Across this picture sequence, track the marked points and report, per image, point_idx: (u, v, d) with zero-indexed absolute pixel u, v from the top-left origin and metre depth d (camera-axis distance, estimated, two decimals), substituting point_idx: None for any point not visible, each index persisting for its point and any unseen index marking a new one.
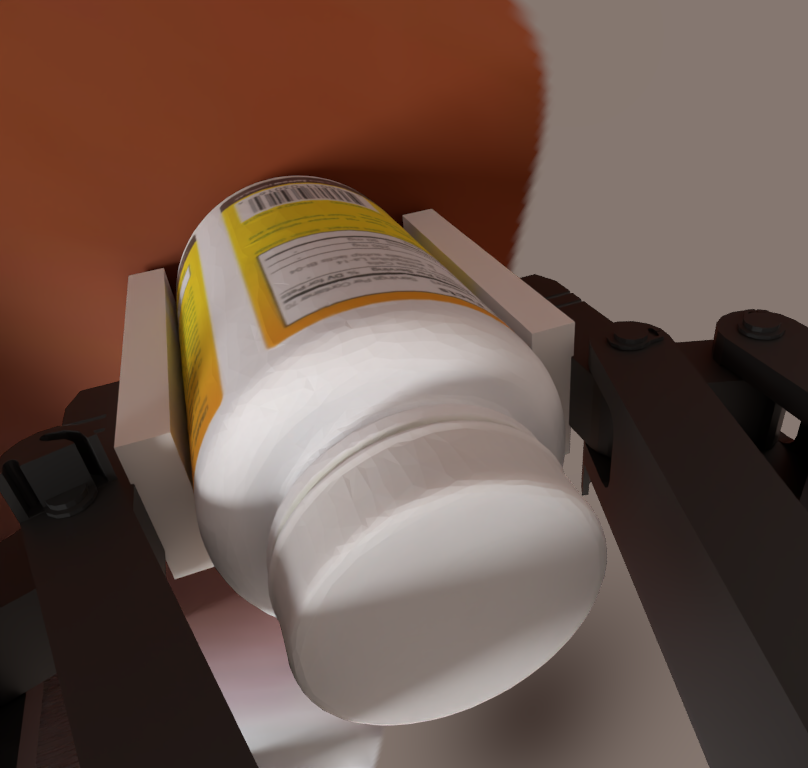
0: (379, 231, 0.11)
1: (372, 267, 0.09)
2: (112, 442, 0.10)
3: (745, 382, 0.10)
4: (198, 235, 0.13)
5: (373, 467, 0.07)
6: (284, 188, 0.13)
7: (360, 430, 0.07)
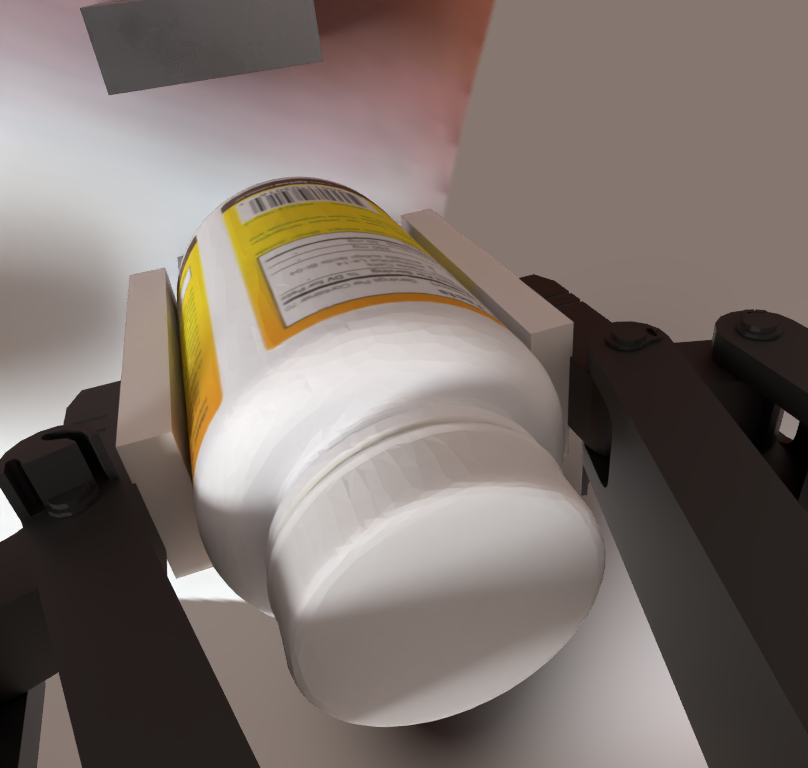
0: (379, 233, 0.11)
1: (371, 269, 0.09)
2: (113, 441, 0.10)
3: (743, 382, 0.10)
4: (199, 236, 0.13)
5: (373, 469, 0.07)
6: (284, 188, 0.13)
7: (359, 432, 0.07)
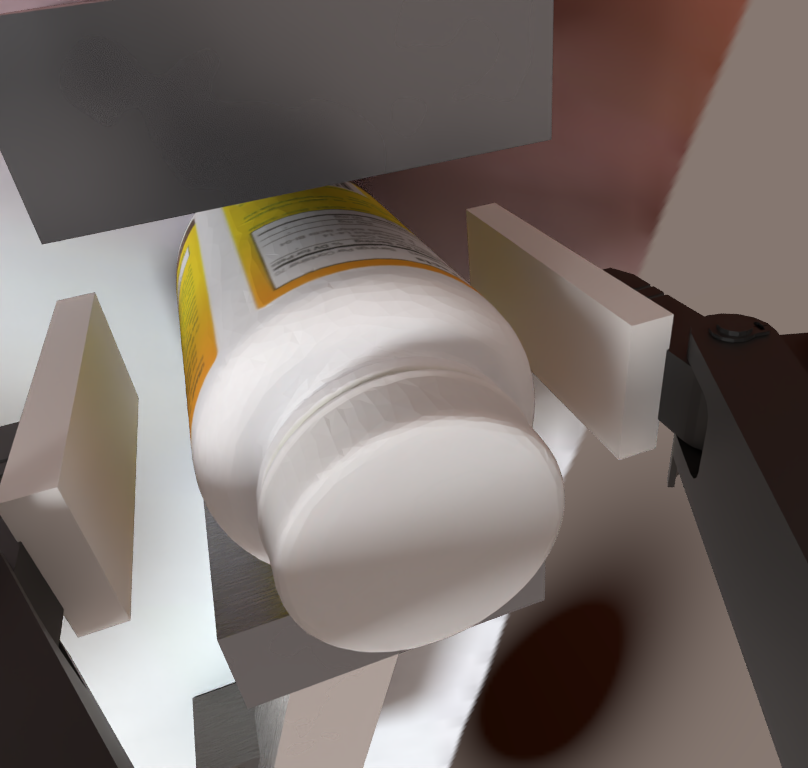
0: (364, 211, 0.12)
1: (354, 239, 0.10)
2: None
3: None
4: (197, 219, 0.14)
5: (351, 408, 0.08)
6: None
7: (340, 378, 0.08)
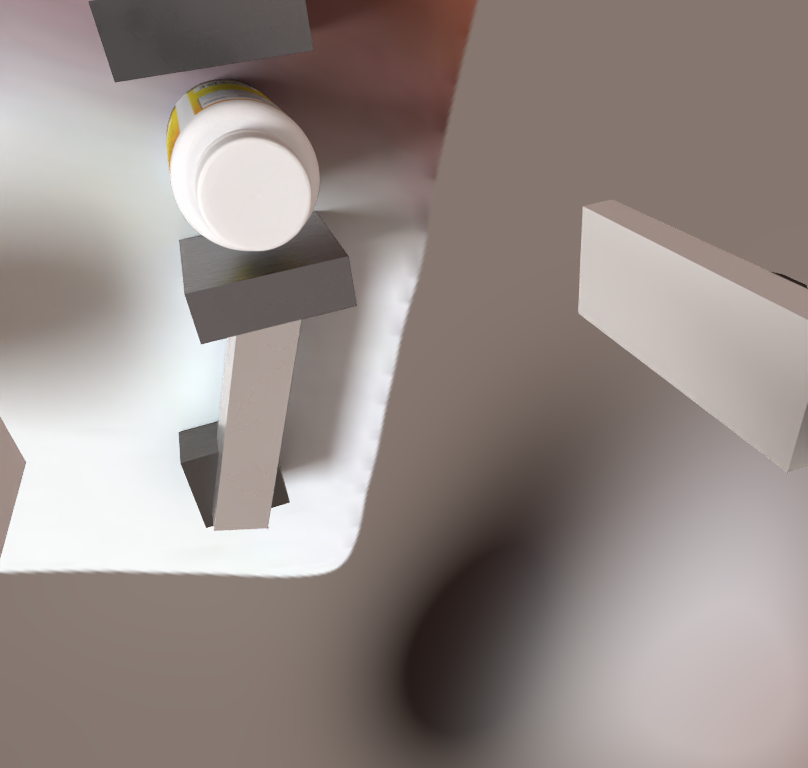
0: (250, 91, 0.26)
1: (238, 95, 0.24)
2: None
3: None
4: (176, 105, 0.28)
5: (224, 139, 0.22)
6: (216, 81, 0.28)
7: (223, 134, 0.22)
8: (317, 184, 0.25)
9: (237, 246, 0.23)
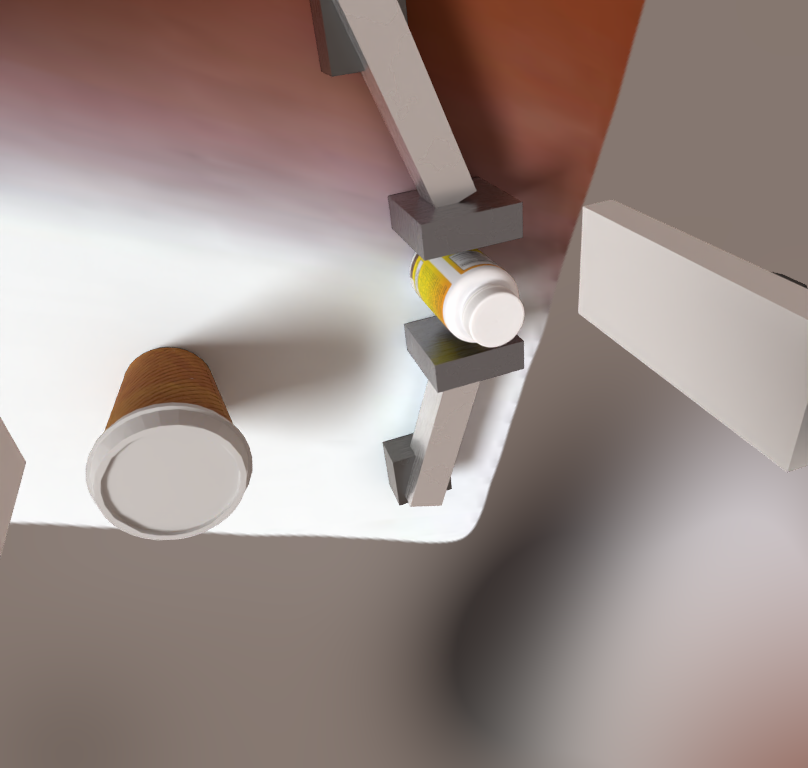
0: (475, 251, 0.45)
1: (477, 259, 0.44)
2: None
3: None
4: None
5: (483, 291, 0.41)
6: None
7: (480, 287, 0.42)
8: None
9: (483, 345, 0.43)
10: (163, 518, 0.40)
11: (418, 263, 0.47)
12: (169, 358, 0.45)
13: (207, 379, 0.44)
